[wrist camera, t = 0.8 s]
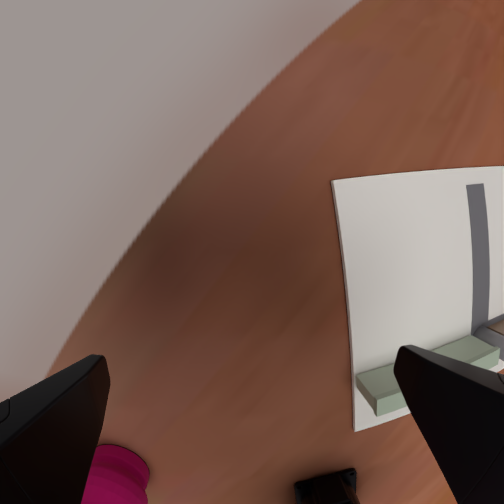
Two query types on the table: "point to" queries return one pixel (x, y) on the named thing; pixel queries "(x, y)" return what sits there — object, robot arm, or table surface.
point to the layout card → (420, 266)
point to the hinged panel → (466, 350)
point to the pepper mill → (116, 477)
